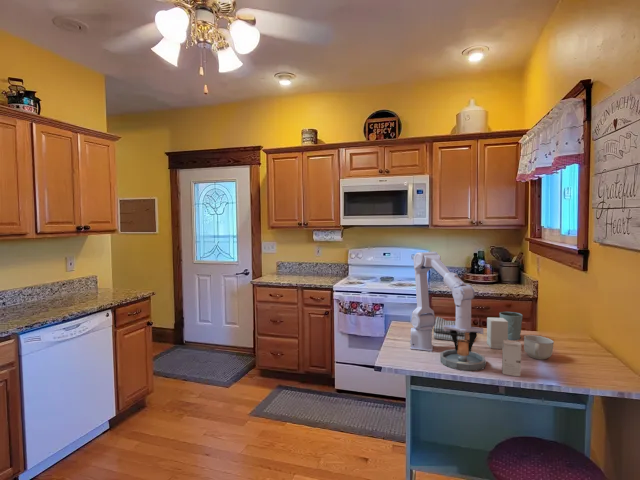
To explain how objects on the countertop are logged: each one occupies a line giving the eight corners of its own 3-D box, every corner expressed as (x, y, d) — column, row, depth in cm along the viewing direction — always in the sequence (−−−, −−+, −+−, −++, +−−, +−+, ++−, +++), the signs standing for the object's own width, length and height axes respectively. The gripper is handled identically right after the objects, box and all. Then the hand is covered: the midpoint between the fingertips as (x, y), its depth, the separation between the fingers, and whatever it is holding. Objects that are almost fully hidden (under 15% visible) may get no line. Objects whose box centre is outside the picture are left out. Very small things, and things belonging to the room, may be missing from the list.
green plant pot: (497, 338, 182) (497, 314, 181) (501, 333, 190) (501, 310, 189) (520, 342, 176) (521, 317, 175) (523, 336, 184) (523, 312, 184)
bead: (457, 355, 145) (457, 342, 145) (457, 351, 149) (457, 338, 149) (469, 356, 143) (469, 343, 143) (468, 352, 148) (469, 340, 147)
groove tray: (440, 367, 145) (440, 361, 145) (440, 353, 162) (440, 347, 161) (487, 373, 140) (487, 366, 140) (483, 357, 156) (483, 351, 156)
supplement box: (508, 349, 166) (508, 321, 165) (490, 348, 167) (490, 320, 167) (503, 344, 173) (503, 317, 173) (486, 343, 175) (486, 316, 174)
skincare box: (502, 374, 139) (503, 342, 138) (501, 370, 143) (502, 339, 142) (521, 376, 136) (521, 344, 136) (519, 372, 141) (520, 340, 140)
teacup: (528, 350, 164) (528, 332, 164) (556, 356, 156) (556, 338, 156) (517, 359, 154) (517, 340, 154) (547, 366, 147) (547, 346, 146)
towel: (432, 340, 181) (432, 324, 180) (434, 330, 198) (434, 315, 198) (466, 343, 176) (466, 327, 175) (464, 332, 193) (464, 317, 193)
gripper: (443, 317, 144) (443, 351, 145) (484, 320, 139) (484, 355, 140) (443, 313, 151) (443, 346, 151) (482, 315, 146) (482, 349, 147)
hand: (463, 350), depth 146 cm, fingers closed on bead, 4 cm apart
